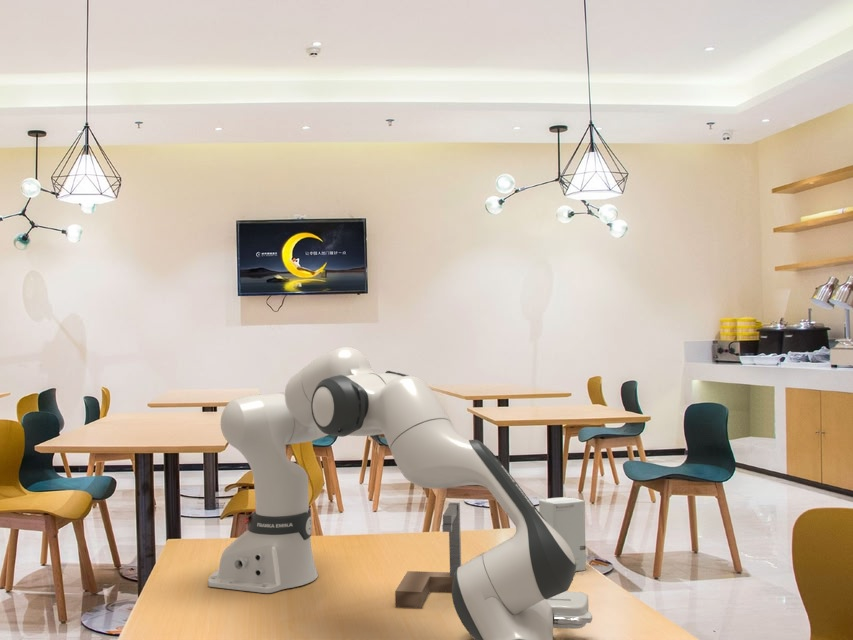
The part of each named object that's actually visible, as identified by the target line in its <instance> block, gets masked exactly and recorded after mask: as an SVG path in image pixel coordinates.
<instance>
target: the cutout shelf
mask: <svg viewBox="0 0 853 640" xmlns="http://www.w3.org/2000/svg"><path fill="white" fill-rule="evenodd" d="M453 578H454V577H453V576H450V571H447V572H446V571H445V572H444V571H418V570H417V571H416V570H415V571H414V570H413V571H412V570H411V571H410V570H407V571H406V573H405V574H404V576H403V578H402V579H401V581H400V583H399V584H398V586H397V587H396V589H395V591H394V592H395V593H394V602H395V608H402V609H405V608H406V609H423V607H424V605H425V604H426V601H427V599H428V597H429V595H430V593H449V594H452V584H453Z"/></svg>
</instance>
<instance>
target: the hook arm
mask: <svg viewBox="0 0 853 640" xmlns="http://www.w3.org/2000/svg"><path fill="white" fill-rule="evenodd" d="M441 527H442V528H441V529H442V533H448V537H449V538H448V540H449V542H448V547H449V572H450V576H453V577H454V574H455V571H456V569H457V568H458V567H460V566H461V565H462V544H461V541H462V540H461V536H462V535H461V533H462V532H461V503H460V502H449V503H448V506H447V508H446V510H445V511H444V513H443V514H442V525H441Z"/></svg>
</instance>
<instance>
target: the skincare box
mask: <svg viewBox="0 0 853 640" xmlns="http://www.w3.org/2000/svg"><path fill="white" fill-rule="evenodd" d="M538 504H539V505H538V507H539V508H538V509H539V510H538V511H539V513H540V514H541V515H542V516H543V518H544V519H545V520H546V521H547V523H548V524H549V525H550V526H551V527H552V528H553V529H555V530H556V531H557V532H558V533H559V534H560V535H561V537H562V538H563V539H564V540H565V541H566V543H567V544H568V546H569V547H570V549H571V551H572V553H573V556H574V559H575V562H576V571H575V572H580V571H581V572H583V571H586V569H587V560H586V559H587V558H586V557H587V556H586V554H587V553H586V549H587V548H586V514H585V513H586V512H585V511H586V506H585V500H583V499H579V498H575V497H572V496H564V497H563V496H562V497H551V498H550V497H549V498H543V499H538Z"/></svg>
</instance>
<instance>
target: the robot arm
mask: <svg viewBox="0 0 853 640" xmlns="http://www.w3.org/2000/svg"><path fill="white" fill-rule="evenodd" d="M220 429H221V432H222V435H223V437H224V438H225V440H226V442H227V443H228V444H229V445H230V446H231V447H233V448H235V449H236V450H237V451H239V453H240V454H241V455H242V456H243V457H244V458H245V460H246V462H247V464H248V465H249V467H250V470H251V473H252V479H253V485H254V486H253V488H254V499H255V501H254V502H255V509H254V510H252V512H251V513H250V514H248V515H247V517H245V518H244V519H243V520H244V525H246V524H247V530H245V532H243V533H242V534H241V535H240V536H238V537H237V538H236V539H235V540H234V541H233V542H232V543H230V544H229V545H228V546H227V547H226V548H225V549H224V550H223V552H222V553H221V557H220V559H219V567H218V569H217V570H215V571H214V572H213V573H211V575H210V576H208V579H207V585H208V587H210V588H219V589H227V590H237V591H246V592H251V593H261V594H262V593H263V594H271V593H277V592H279V591H281V590H285V589H290V588H296V587H300V586H304V585H307V584H309V583H312V582H314V581H315V580H316V579H317V578H318V577H319V573H318V571H317V570H318V569H317V567H316V564H315V560H314V554H313V547H312V541H311V536H312V530H313V529H312V528H313V526H312V525H313V522H312V521H313V519H312V512H311V508H310V504H309V503H310V501H309V499H310V497H309V496H310V495H309V475H308V473H307V472H306V470H305V468H304V467H303V466H301V465H299V464H298V463H296V462H294V461H292V460H289V458H288V456H287V452H286V445H295V444H302V443H311V442H312V441H316V440H318V439H323V438H324V437H327V436H332V437H348V436H353V437H354V436H356V437H366V436H368V437H369V436H370V437H371V436H378V435H383V436H384V438H385V441H386V442H387V446H388V447H389V451H390V453H391V455H392V458H393V459H394V462H395V464H396V466H397V467H398V469H399V471H400V472H401V474H402V476H403V477H404V478H405V479H406V480H407V481H408V482H410V483H411V484H413V485H415V486H417V487H420V488H424V489H425V488H426V489H432V490H443V489H450V488H451V489H452V488H456V487H463V486H476V485H477V486H481V487H484V488H486V489H487V490H488V491H489V492H490V493H491V495H492V496H493V498H494V499H495V501H496V502H497V503H498V504H499V505H500V507H501V508H502V510H503V511H504V513H505V514H506V516H508V518H509V519H510V521H511V522H512V524H514V526H515V529H516V531H515V533H514V535H513V536H512V537H509V538H508V539H506V540H505V541H503V542H501V543H499V544H498V545H496V546H494V547H492V548H491V549H489V550H486V551H485V552H482V553H480V554H479V555H477V556H475V557H473V558H472V559H469V560H467V561H466V562H465V563H463V564H461V566H460V567H458V568H457V569H456V571H455V574H454V578H453V584H452V593H451V599H452V604H453V607H454V610H455V612H456V614H457V616H458V618H459V621H460V622H461V624H462V626H463V627H464V629H465V630H466V631H467V632H468V634H469V635H470V637H471V638H472V639H475V640H554V637H553V635H554V629H571V630H572V629H576V630H577V629H582V628H584V627H585V626H586V624H591V623H592V622H593V615H592V613H591V612H590V611H589V595H588V594H587V593H584V592H582V591H569V589H570V587H571V585H572V583H573V580H574V577H575V575H576V572H577V571H576V562H575V559H574V556H573V553H572V551H571V549H570V547H569V546H568V544H567V543H566V541H565V540H564V539H563V538H562V537H561V535H560V534H559V533H558V532H557V531H556V530H555V529H553V528H552V527H551V526H550V525H549V524H548V523H547V521H546V520H545V519H544V518H543V516H542V515H541V514H540V513H539V510H538V508H537V507H536V506H535V505H534V503H533V502H532V500H531V499H530V498H529V497H528V495H527V494H526V493H525V492H524V490H523V489H522V488H521V486H520V485H519V484H518V482H516V480H515V478H514V477H513V476H512V475H511V474H510V472H509V471H508V469H506V467H505V466H504V465H503V464H502V462H501V461H500V460H499V459H498V457H497V456H496V455H495V454H494V453H493V452H492V450H490V448H489V447H488V446H487V445H485V444H484V443H483V442H481V441H480V440H478V439H467V438H465V437H464V436H463V435H461V434H460V433H459V432H458V431H457V429H456V428H455V427H454V424H453V423H452V421H451V419H450V416H449V414H448V413H447V412H446V410H445V408H444V406H443V404H442V403H441V402H440V400H439V399H438V397H437V395H436V394H435V393H434V391H433V390H432V389H431V387H430V386H429V385H428V384H427V382H426V381H425V380H423V379H422V378H420V377H417V376H414V375H409V374H405V373H401V372H395V371H391V370H387V371H385V372H375V371H373V369H372V366H371V364H370V361H369V359H368V358H367V357H366V356H365V354H364V353H363V352H361V351H360V350H359V349H356V348H354V347H350V346H342V347H341V346H340V347H338V348H335V349H333V350H330V351H328V352H326V353H323V354H322V355H320V356H318V357H317V358H315V359H314V360H313V361H311V362H310V363H309V364H307V365H306V366H304V368H302V369H301V370H299V371H298V372H297V373H296V374H294V375H293V376H291V378H290V379H289V380H288V382H287V384H286V386H285V390H284V392H272V393H260V394H258V393H257V394H249V395H247V396H243V397H242V396H241V397H239V398H237V399H233V400H231V401H228V403H227V404H226V405H225V407H224V409H223V411H222V413H221V416H220Z"/></svg>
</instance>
